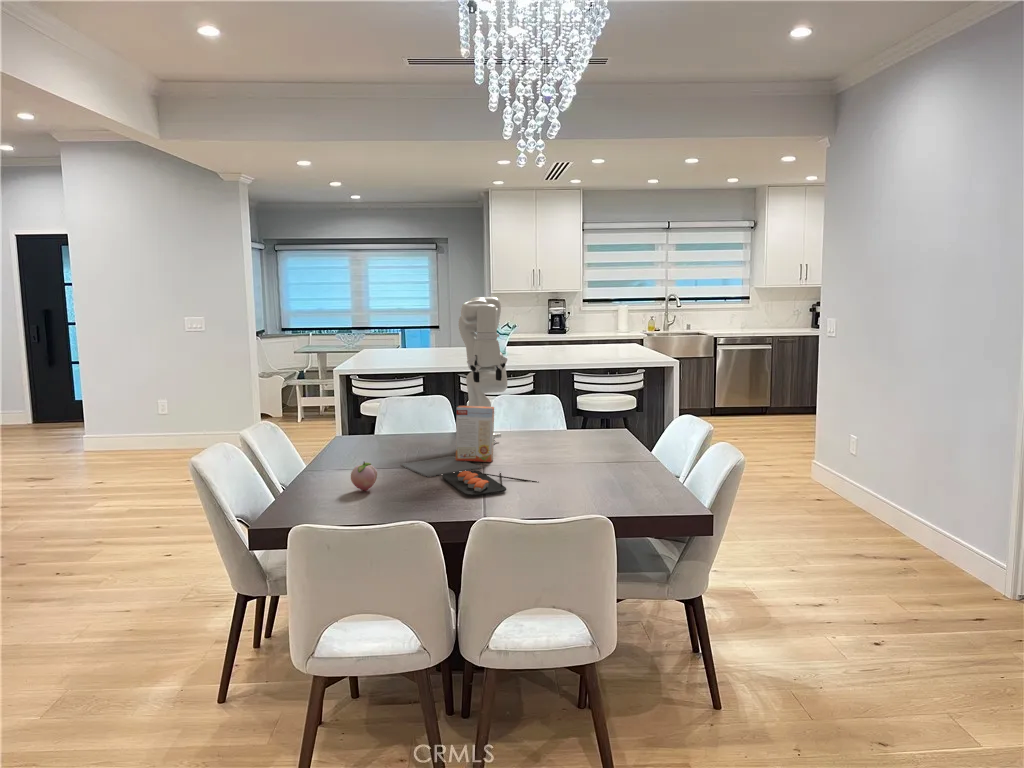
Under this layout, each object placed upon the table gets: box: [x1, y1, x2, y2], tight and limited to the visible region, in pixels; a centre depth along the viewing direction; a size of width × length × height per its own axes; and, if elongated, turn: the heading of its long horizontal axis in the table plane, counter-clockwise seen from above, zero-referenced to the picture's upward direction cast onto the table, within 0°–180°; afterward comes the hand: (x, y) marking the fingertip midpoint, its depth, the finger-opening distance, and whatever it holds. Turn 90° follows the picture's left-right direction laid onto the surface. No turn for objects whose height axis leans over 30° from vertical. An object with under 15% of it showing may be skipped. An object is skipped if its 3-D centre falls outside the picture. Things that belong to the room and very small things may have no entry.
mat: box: [400, 455, 482, 478], centre depth 262 cm, size 22×22×1 cm
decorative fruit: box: [350, 461, 378, 492], centre depth 230 cm, size 9×8×10 cm
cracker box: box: [455, 405, 495, 463], centre depth 270 cm, size 14×6×21 cm, turn 84°
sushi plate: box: [441, 470, 538, 496], centre depth 239 cm, size 29×30×4 cm
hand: (487, 381), depth 272 cm, fingers open, 9 cm apart
